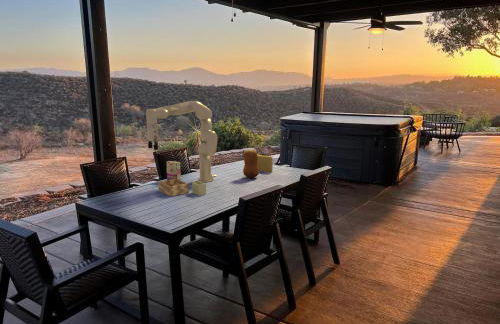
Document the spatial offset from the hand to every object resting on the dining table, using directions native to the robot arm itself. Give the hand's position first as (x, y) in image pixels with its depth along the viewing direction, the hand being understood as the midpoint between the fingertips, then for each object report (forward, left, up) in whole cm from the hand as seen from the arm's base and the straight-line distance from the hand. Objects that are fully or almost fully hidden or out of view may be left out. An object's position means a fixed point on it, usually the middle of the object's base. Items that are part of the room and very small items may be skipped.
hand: (153, 148), depth 263 cm
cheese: (-108, 0, -31) cm, 112 cm away
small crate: (-21, +30, -31) cm, 48 cm away
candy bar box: (-23, -14, -31) cm, 41 cm away
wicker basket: (-8, +16, -31) cm, 36 cm away
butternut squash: (-81, +16, -31) cm, 88 cm away
